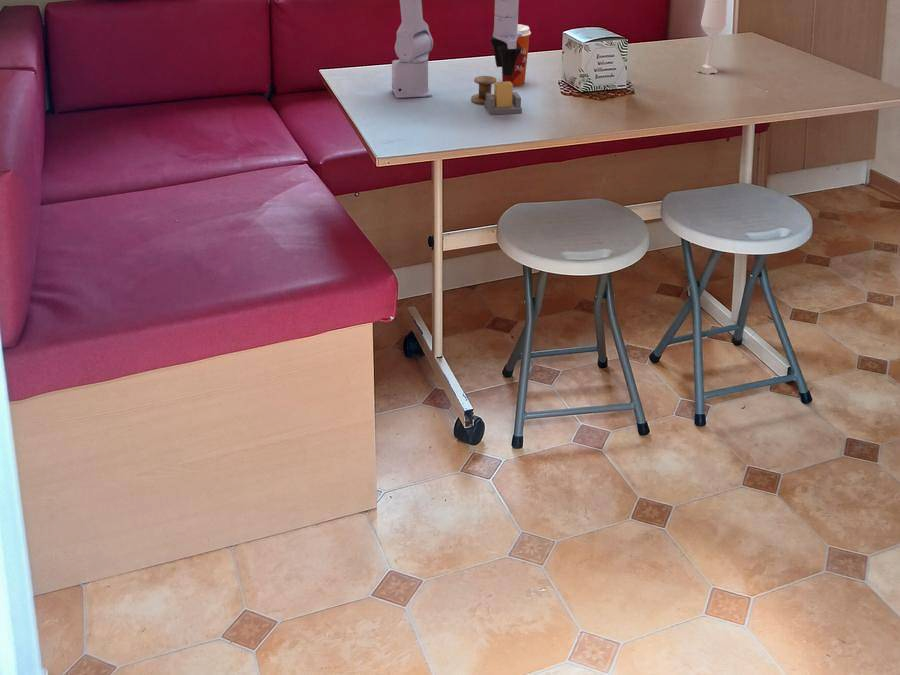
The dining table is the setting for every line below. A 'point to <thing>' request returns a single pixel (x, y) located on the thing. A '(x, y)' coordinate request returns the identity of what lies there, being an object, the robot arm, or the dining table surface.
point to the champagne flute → (713, 22)
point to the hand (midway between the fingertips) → (504, 70)
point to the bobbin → (483, 88)
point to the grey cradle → (503, 110)
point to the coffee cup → (520, 58)
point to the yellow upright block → (503, 94)
